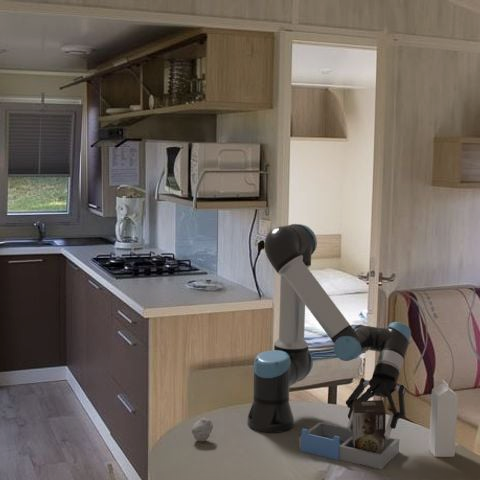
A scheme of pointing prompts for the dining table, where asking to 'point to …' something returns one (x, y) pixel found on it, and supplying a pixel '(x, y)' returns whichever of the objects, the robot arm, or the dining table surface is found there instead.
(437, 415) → the milk
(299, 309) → the robot arm
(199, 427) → the grey lumpy rounded piece
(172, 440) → the dining table surface
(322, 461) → the dining table surface
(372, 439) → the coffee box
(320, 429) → the two-compartment sorting tray
